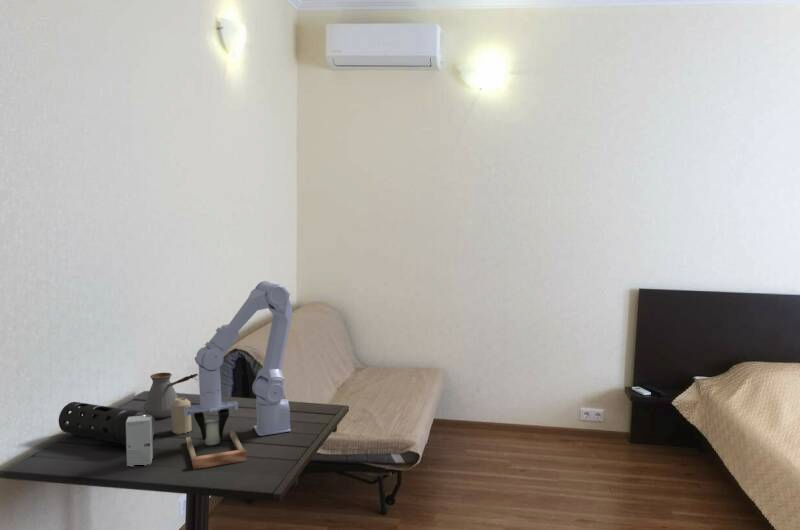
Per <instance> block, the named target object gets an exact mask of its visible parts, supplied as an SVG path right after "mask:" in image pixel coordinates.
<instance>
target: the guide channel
mask: <svg viewBox="0 0 800 530" xmlns="http://www.w3.org/2000/svg"><path fill="white" fill-rule="evenodd" d="M229 436H230V439H231V441H232V443H233V445H234V447H236V448H235V450H230V451H223V452H217V453H209V454H204V455H203V454H202V455H197V454H196V451H195V448H194V444H193V440H192V437H191V436H187V437H185V443H187V444H186V447H187V450H189V451H188V454H189V458H190V461H192V462H191V464H192V468H193V470H198V469H205V468H210V467H211V468H212V467H217V466H221V465H228V464H233V463H234V464H235V463H241V462H246V461H247V458H248V457H247V450H246V448H244V447H243V445H242V443H241V442H240V440H239V437H238V435H237V434H236V432H235V430H230V431H229ZM236 449H237V450H236Z"/></svg>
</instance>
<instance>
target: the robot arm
mask: <svg viewBox="0 0 800 530" xmlns="http://www.w3.org/2000/svg"><path fill="white" fill-rule="evenodd" d="M290 296H291V293H290V292H289V291H288V289H287V288H286V287H285V286H284V285H282V284H280V283H279V284H278V283H274V282H270V281H266V280H263V281H259V283H258V284H256V286H255V287H254V289H252V290H251V291H250V294H249V295H248V297H247V299H246V300H245V302H244V303H243V305H241V307H240V308H239V310H238V311H237V312H236V314H235V315H234V316H233V318H232V319H231V320H230V322H229V323H228V324H222V325H221V326H220V327H219V326H218V327H217V328H216V329H215V333H214V335H213V336H212V338H211V339H210V340H209V341H208V342H206V343H205V344H204V345H205V346H203V347H201V348H200V349H198V351H197V352H196V354H195V355H196V356H195V357H194V361H195V363H196V365H198V383H199V384H198V385H199V387H198V388H199V404H196V405H191V407H186V408H184V416H189V415H191V416H192V415H193V416H194V419H195V422H196V423H197V425H198V427H199V429H200V433H201V438H202V440H204V441H205V439H206V437H205V427H204V422H205V417H204V414H206V413H207V414H208V413H215V412H218V413H217V414H218V416H217V417H218V421H219V431H220V438H223V433H224V430H225V429H224V428H225V425H226V422H227V420H228V419H229V416H230V411H231V410H234V411H236V410H239V402H238V400H234V401H222V386H221V366H222V365H223V363H224V357H225V355H226V354H227V353H228V352H229V350H230V349H231V348H232V347H233V345H234V344H235V343H236V342H237V340H238V339H239V337H240V336H239V332H240V330H241V329H242V328H243V327H244V326H245V325H246V324H247V323H248V322H249V320H250V319H251V318H253V316H254V315H255V314H256V313H257V312H258V311H261V310H266V309H268V310H269V311H270V312H271V314H272V321H271V325H270V328H269V329H270V330H269V331H270V332H269V336H268V340H267V345H266V351H265V356H264V360H263V365H262V367H261V368H260V369H259V370H258V372H257V376H256V378H255V379H254V381H253V383H252V386H251V387H252V392H253V394H254V395H256V399H255V400H256V401H255V403H256V404H255V405H256V425H253V428H254V430H255V433H256V434H257V435H258V437H259V436H260V437H261V436H262V437H263V436H269V435H274V434H282V433H288V432H291V417H290V416H291V411H290V404H289V403H290V402H289V401H288V399H287V398H284V396H285V391H286V390H285V387H284V382H285V378H284V374H283V372H282V367H283V364H284V363H283V362H284V357H285V353H286V347H287V342H288V337H289V333H290V327H291V322H292V318H293V307H292V304H291V300H290ZM229 410H230V411H229Z"/></svg>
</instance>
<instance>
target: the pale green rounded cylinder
mask: <svg viewBox="0 0 800 530" xmlns="http://www.w3.org/2000/svg"><path fill="white" fill-rule="evenodd" d="M204 427H205V437H206V439H204V444H205V445H206V446H215V445H216V446H217V445H219V444H220V442H221V437H220V431H219V419H207V420H204Z"/></svg>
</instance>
